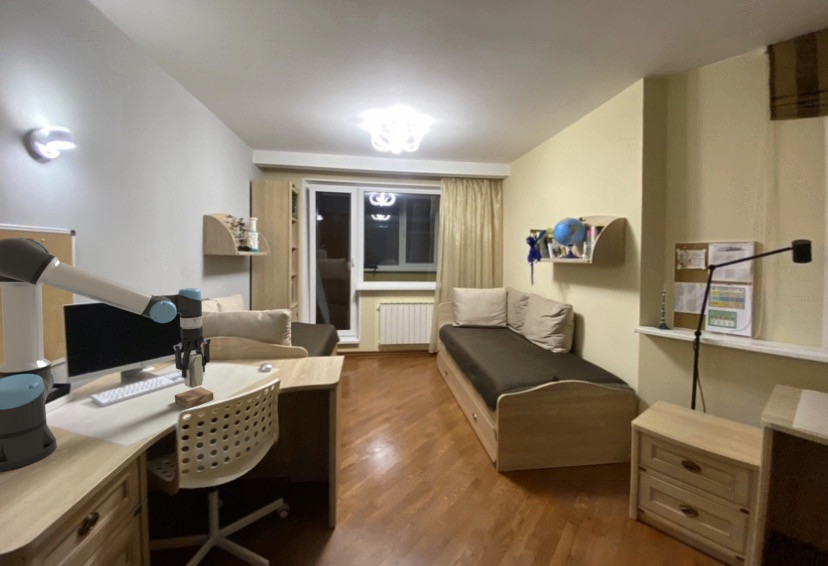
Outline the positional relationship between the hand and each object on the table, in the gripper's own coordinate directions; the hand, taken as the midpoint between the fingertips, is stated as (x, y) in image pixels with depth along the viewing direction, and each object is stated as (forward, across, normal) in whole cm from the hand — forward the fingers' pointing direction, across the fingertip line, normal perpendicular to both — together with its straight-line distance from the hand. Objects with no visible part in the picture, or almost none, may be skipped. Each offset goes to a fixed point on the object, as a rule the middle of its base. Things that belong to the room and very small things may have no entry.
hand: (194, 382), depth 143 cm
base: (+8, 0, 0) cm, 8 cm away
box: (+1, 0, 0) cm, 1 cm away
